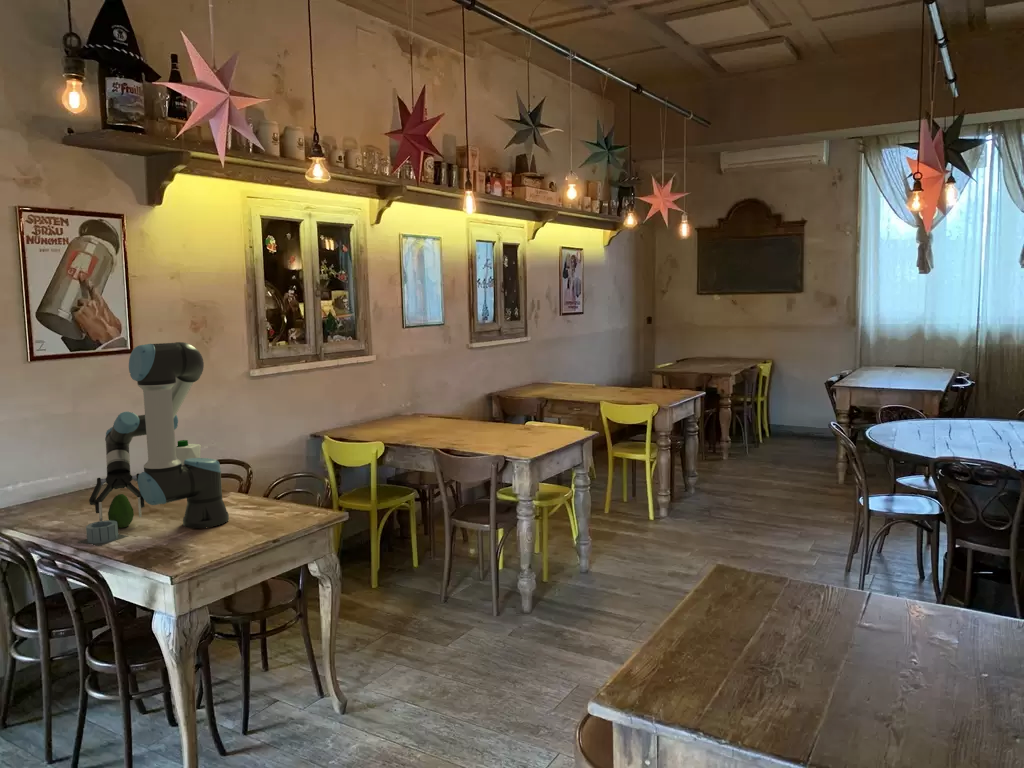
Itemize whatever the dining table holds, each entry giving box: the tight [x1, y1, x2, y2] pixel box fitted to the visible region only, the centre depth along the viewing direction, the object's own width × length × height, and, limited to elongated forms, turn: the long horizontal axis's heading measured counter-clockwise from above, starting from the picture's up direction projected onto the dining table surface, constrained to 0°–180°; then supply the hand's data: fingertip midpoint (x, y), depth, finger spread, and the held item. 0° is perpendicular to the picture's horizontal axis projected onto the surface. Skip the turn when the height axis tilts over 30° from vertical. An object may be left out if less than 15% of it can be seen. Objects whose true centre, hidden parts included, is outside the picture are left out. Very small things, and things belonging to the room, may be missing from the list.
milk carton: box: [175, 439, 202, 465], centre depth 313 cm, size 9×9×20 cm
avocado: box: [107, 493, 135, 529], centre depth 260 cm, size 8×8×12 cm
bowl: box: [85, 519, 119, 544], centre depth 247 cm, size 9×9×5 cm
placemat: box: [76, 533, 129, 547], centre depth 247 cm, size 11×11×1 cm
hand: (120, 517), depth 258 cm, fingers open, 11 cm apart
